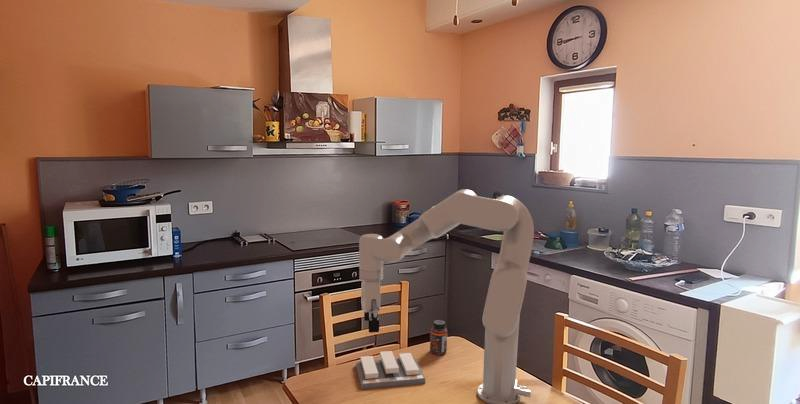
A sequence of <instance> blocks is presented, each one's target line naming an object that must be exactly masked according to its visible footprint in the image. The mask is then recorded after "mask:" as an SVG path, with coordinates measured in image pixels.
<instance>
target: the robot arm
mask: <svg viewBox="0 0 800 404" xmlns="http://www.w3.org/2000/svg"><path fill="white" fill-rule="evenodd" d="M459 225H465V226H469V227H475V228H479V229H484V230H488V231H494V232H503V234H502V235H503V236H502V239H501V245H500V251H499V255H498V258H497V259H498V260H497V262H496V265H495V267H494V269H493V272H492V273H491V278H490V280H489V284H488V289H487V293H486V298H485V303H484V307H483V308H484V309H483V313H482V325H483V327H484V329H485V331H484V332H485V333H484V351H483V352H484V354H483V373H482V377H483V378H482V383H480V384H479V385H478V386H477V389H476V390H477V392H476V393H477V396H478V398H479V399H480V400H482V401H483V402H484V403H486V404H517V403H518V402H520V401H521V396H523V397H525V398H531V393H532V390H531V389H530V390H529V389H528V386H526V385H520V384H518V379H517V363H518V362H517V361H518V346H519V344H518V343H519V331H520V330H519V329H520V316H521V310H522V306H523V301H524V298H525V294H526V287H527V282H528V270H529V264H530V259H531V254H532V249H533V244H534V235H535V234H534V233H535V228H534V227H535V226H534V221H533V217H532V215H531V213H530V211H529V209H528V208H527V207H526V206H525V204H524V203H522V202H521V201H520V200H519V199H517V198H515V197H513V196H511V195H500V196H498V197H497V198H489V197H483V196H478V195H477V194H476V193H475V192H474V191H473V190H472V189H471V190H470V189H466V188H465V189H464V188H461V189H459V190H457V191H456V192H454V193H452V194H451V195H449V196H448V197H446V198H444V199H443V200H442V201H440V202H439V203H437V204H436V205H434V206H432V207H431V208H429V209H428V210H426V211H424V212H423V213H422V214H421V215H420V216H419V217H418V218H417V219H416V220H414V221H412V222H411V223H409V224H408V225H406V226H405V227H402V228H401V229H399V230H398V231H397V232H394V233H393V234H392V235H390V236H388V237H385V238H384V237H383V236H382V235H380V234H378V233H367V234H362V235H361V236H360V237H359V242H358V245H359V246H358V247H359V248H358V249H359V250H358V253H359V255H358V256H359V257H358V259H359V261H358V262H359V263H358V264H359V268H358V269H359V271H358V273H359V278H358V279H359V280H360V281H361V291H360V292H361V294H360V298H361V299H360V304H361V306H362V309H363V313H364V315H363V316H364V317H363V319H364V320H363V321H366V322H368V332H369V333H370V334H371V333H379V332H380V317H379V312H380V311H381V281H382V280H383V279H384V262H386V263H392V264H393V263H397V262H399V261H401V260H402V259H403V258H404V257H405V256H406V255H407V254H409V253H410V252H412V251H413V250H415V249H416V248H418V247H420V246H422V245H423V244H425V243H426V242H428V241H430V240H433V239H438V238H440V237H441V236H443V235H445V234H447V233H448V232H450V231H452V229H454V228H456V227H458V226H459Z"/></svg>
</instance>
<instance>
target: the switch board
mask: <svg viewBox="0 0 800 404" xmlns="http://www.w3.org/2000/svg"><path fill="white" fill-rule="evenodd" d="M412 357H413V359H414V361H415V363H416V365H417V367H418V369H419V374H418V375H406V373H405V371H404V369H403V366H402V364H401V362H400V360H399V357H397V358H396V357H395V360H396V362H397V364H398V367H399V373H387V374H386V372H385V369H384V366H383V363H382V361H381V359H374V362H375V365H376V368H377V371H378V378H371V379H365V375H364V372H363V368H362V364H361V360H360V361H355V368H356V372H357V375H358V379H359V380H358V381H359V384H360V387H361V389H362V390H363V389H374V388H375V389H377V388H385V387H386V388H387V387H396V386H397V387H398V386H409V385H417V384H419V385H420V384H426V377H425V374H424V373H423V371H422V369H421V367H420V365H419V364H418V362H417V359H416V357H414V356H412Z"/></svg>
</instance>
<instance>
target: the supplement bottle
mask: <svg viewBox="0 0 800 404" xmlns="http://www.w3.org/2000/svg"><path fill="white" fill-rule="evenodd" d="M429 339H430V340H429V351H430V353H431V354H432V355H436V356H443V355H445V354H447V350H448V349H447V347H448V344H447V342H448V328H447V327H446V322H445V321H444V320H441V319H437V320H436V319H435V320H434V321H433V326H431V328H430V338H429Z"/></svg>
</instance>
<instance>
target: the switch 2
mask: <svg viewBox="0 0 800 404" xmlns="http://www.w3.org/2000/svg"><path fill="white" fill-rule="evenodd" d="M413 357H414V356H413V355H412V353H411V352H405V353H403V352H402V353H399V354H398V358H399V360H400V362H401V364H402V366H403V369H404V371H405V373H406V375H418V374H419V369H418V367H417V365H416V363H415V361H414V359H413Z"/></svg>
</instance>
